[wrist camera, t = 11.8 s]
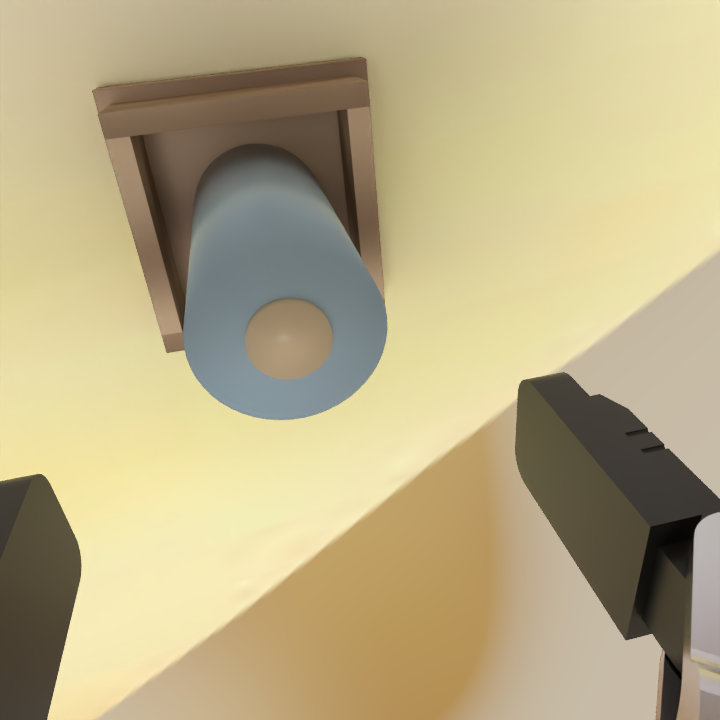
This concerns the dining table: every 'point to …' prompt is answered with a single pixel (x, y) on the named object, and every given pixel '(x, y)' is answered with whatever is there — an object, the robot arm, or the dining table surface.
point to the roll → (276, 290)
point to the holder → (227, 131)
